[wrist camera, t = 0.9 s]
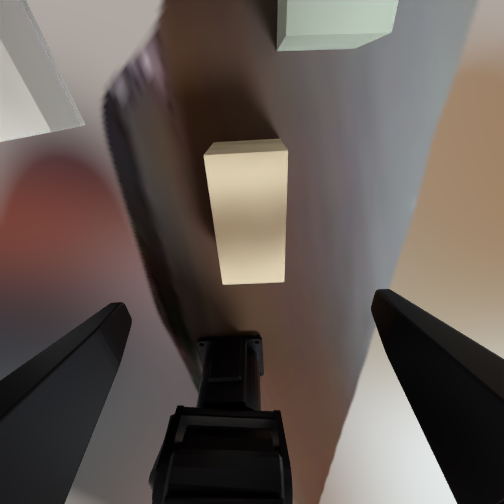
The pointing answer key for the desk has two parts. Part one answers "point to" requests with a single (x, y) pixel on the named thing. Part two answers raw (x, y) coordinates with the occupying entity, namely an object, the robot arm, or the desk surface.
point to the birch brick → (249, 208)
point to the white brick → (30, 79)
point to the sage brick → (332, 23)
